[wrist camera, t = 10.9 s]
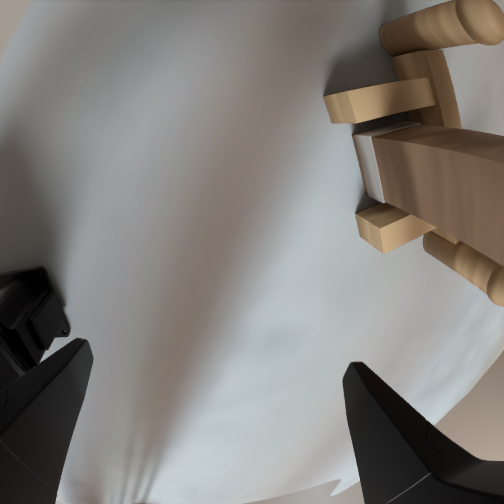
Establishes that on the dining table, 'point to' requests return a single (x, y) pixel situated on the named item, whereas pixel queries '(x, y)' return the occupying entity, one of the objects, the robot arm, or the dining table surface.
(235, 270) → the dining table surface
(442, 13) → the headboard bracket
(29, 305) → the robot arm
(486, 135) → the block
